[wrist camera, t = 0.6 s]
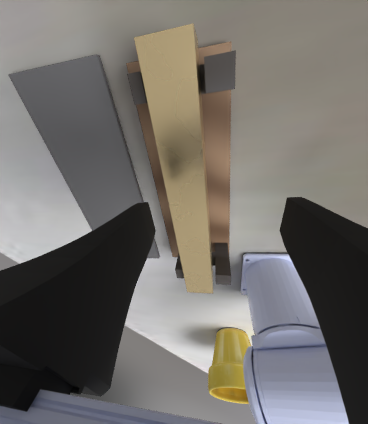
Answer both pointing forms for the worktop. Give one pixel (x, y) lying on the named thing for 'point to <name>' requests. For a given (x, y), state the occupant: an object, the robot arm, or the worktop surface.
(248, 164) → the worktop surface
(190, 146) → the brass rail
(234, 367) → the plant pot
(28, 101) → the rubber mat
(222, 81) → the hook rack
